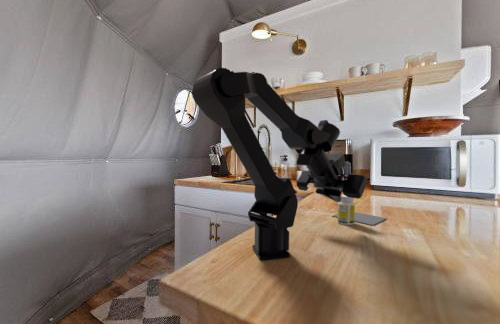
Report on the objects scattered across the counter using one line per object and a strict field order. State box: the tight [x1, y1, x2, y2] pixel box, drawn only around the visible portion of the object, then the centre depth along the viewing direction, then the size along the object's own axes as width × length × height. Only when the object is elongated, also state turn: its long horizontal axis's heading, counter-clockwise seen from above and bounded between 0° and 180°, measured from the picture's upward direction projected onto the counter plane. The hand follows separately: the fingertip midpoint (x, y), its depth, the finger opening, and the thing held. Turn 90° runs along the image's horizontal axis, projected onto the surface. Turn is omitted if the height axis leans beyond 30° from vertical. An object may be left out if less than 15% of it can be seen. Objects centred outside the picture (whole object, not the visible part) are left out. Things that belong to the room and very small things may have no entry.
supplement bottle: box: [337, 194, 356, 226], centre depth 70 cm, size 5×5×8 cm
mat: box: [331, 211, 387, 227], centre depth 76 cm, size 11×13×1 cm
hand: (339, 201), depth 67 cm, fingers closed
